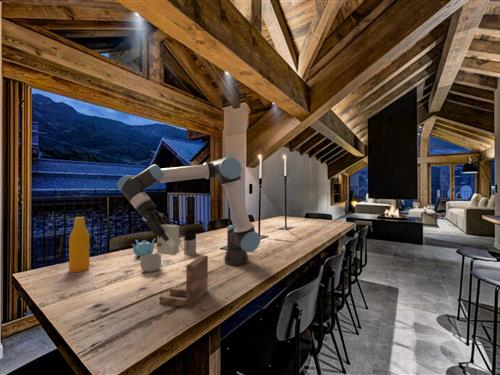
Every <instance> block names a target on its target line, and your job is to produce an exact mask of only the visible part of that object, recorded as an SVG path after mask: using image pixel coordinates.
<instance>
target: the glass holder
mask: <svg viewBox="0 0 500 375" xmlns="http://www.w3.org/2000/svg"><path fill="white" fill-rule="evenodd" d="M182 237H183V238H182ZM179 238H180V239H181V238H182V239H183V241H184V242H183V243H184V246H183V247H182V245H181V242H180V243H179V248H181V249H183V256H194V255H197V231H195V230H187V231H184V235H179Z"/></svg>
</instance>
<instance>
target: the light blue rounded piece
mask: <svg viewBox="0 0 500 375" xmlns="http://www.w3.org/2000/svg"><path fill="white" fill-rule="evenodd" d="M155 241H156V238H153V240H152V241H151V242H149V241H147V240H141V242H139V240H137V239H135V243H136V244H134V243H131V245H132V251H133V253H134V255H135V256H136V257H137V258H140V257H142V256H144V255H148V254H153V252H154V248H155Z"/></svg>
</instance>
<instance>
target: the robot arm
mask: <svg viewBox="0 0 500 375" xmlns="http://www.w3.org/2000/svg"><path fill="white" fill-rule="evenodd" d="M242 171H243V170H242V165H241V162H240V161H239V160H238V159H236V158H235V157H231V156H227V157H226V156H225V157H223V158H218V159H216V160H213V161H208V162H204V163H203V164H197V165H196V164H195V165H185V166H175V167H174V166H173V167H165V168H164V167H163V168H160V166H159V165H158V164H152V165H150V166H149V167H147V168H146V169H144V170H142V171H141V172H140V173H138V174H137V175H135V176H132V175H130V174H129V175H128V174H127V175H125V176H122V177H121V178H119V180H118V181H117V183H116V186H117V188H118V190H119V191H120V192H121V193H122V195H123V197H125V198H126V200H127V201H128V202H129V203H130V204H131V205H132V206H133V208H134V209H135V210H136V212H137V213H138V214H139V215H140V217H141V219H140V221H142V222H143V224H145V225H146V226H147V227H148V228H149V230H150V231H151V232H152V233H153V234H154V235H155V236H156V237H157V236H158V235H159V236H158V237H159V238H160V237H162V238H163V239H164V240H165V241H166V243H167V244H168V245H169V246H170V247H171V248H172V247H173V246H174V245H175V244H176V243H175V242H174V240H173V239H172V238H171V237H170V236H169V234H168V233H167V232H165V231H164V230H163V228H162V227H161V225H162V224H168V225H173V223H172V222H171V221H170V220H169V218H168V217H167V216H166V214H165V212H164V211H162V212H159V211H158V210H157V209H156V208H157V205H156V204H155V202H153V200H152V199H151V198H150V196H149V195H148V193H146V192H145V190H147V189H149V188H150V187H152V186H154V185H155V184H162V183H170V182H171V183H172V182H181V181H187V180H195V179H206V180H209V179H217V180H219V183H220V185H221V186H223V187H224V189H225V193H226V197H227V201H228V205H229V208H230V209H229V210H230V211H231V215H232V216H231V217H232V219H233V223H234V224H230V225H228V226H227V230H226V231H227V232H226V233H227V237H226V238H227V240H226V241H227V245H226V246H227V248H226V253H225V255H224V260H223V261H224V263H225V264H226V265H229V266H242V265H244V266H245V265H246V264H249V261H250V260H249V255H248V253H252V252H255V251H256V250H257V249H258V248H259V246H260V244H261V237H260V235H259V233H258V232H256V230H255V225H254V224H253V223H251V222H250V218H249V213H248V211H247V206H246V204H245V203H246V202H245V199H244V195H243V192H242V187H241V184H240V182H241V180H242V177H241V172H242ZM182 242H183V240H182V239H181V237H180V238H179V243H180V244H181V243H182Z"/></svg>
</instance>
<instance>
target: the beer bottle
mask: <svg viewBox="0 0 500 375" xmlns="http://www.w3.org/2000/svg"><path fill="white" fill-rule="evenodd" d="M85 222H86V221H85V216H79V217H78V216H76V217H74V223H73V227H72V228H73V229H72V230H71V232H70V234H69V238H68V243H69V244H68V254H69V255H68V258H69V259H68V261H69V262H68V270H69V272H70V273H80V272H85V271H87V270H88V269H89V268H90V234H89V232H88V230H87V228H86V223H85Z"/></svg>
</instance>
